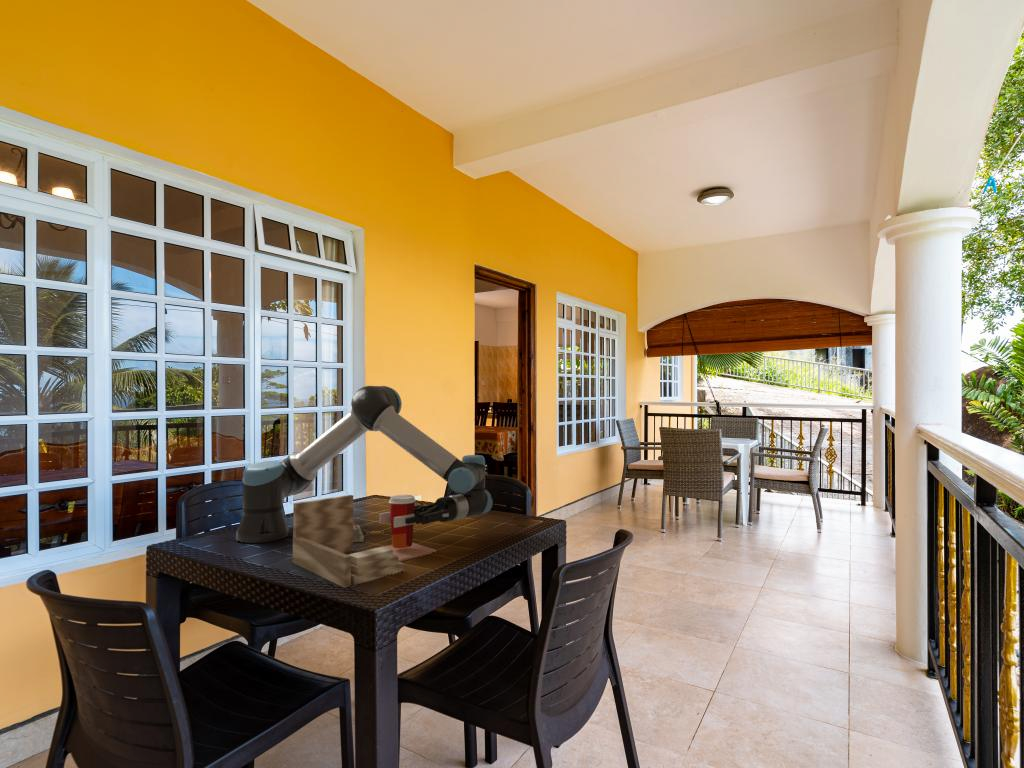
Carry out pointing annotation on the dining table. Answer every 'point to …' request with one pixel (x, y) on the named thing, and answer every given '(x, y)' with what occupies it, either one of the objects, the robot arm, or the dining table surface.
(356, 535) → the packaged product
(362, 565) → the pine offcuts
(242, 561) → the dining table surface
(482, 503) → the robot arm
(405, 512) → the paper cup
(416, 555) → the terracotta mat
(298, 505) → the oak rack
